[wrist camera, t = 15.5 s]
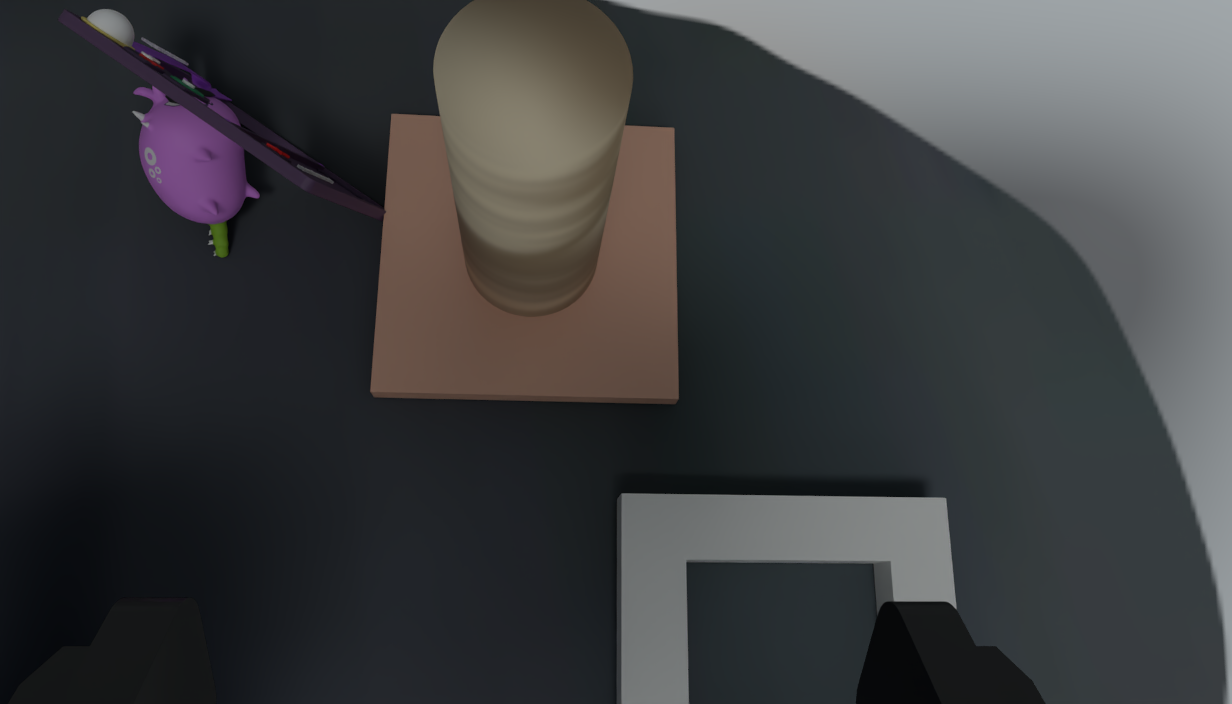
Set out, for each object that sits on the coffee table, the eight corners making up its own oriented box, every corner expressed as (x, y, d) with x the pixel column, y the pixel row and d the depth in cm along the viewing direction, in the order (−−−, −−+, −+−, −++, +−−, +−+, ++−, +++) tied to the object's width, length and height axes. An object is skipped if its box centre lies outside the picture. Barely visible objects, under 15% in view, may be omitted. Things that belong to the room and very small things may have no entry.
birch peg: (537, 343, 31) (542, 198, 20) (436, 257, 31) (391, 72, 21) (624, 249, 32) (672, 67, 21) (526, 169, 32) (526, -49, 22)
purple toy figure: (327, 157, 25) (74, -17, 26) (226, 314, 26) (-22, 138, 26) (406, 197, 32) (203, 58, 33) (325, 321, 32) (125, 181, 33)
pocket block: (957, 848, 28) (980, 860, 27) (616, 855, 27) (621, 869, 26) (926, 503, 31) (946, 497, 30) (616, 499, 30) (621, 493, 29)
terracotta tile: (675, 404, 31) (678, 398, 31) (374, 397, 30) (370, 391, 30) (670, 138, 34) (674, 127, 33) (394, 125, 33) (391, 113, 32)
